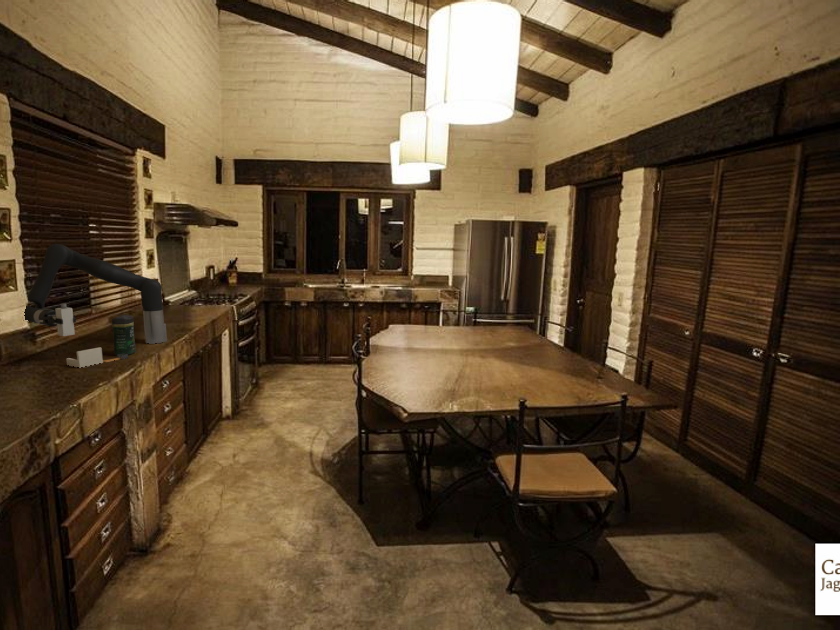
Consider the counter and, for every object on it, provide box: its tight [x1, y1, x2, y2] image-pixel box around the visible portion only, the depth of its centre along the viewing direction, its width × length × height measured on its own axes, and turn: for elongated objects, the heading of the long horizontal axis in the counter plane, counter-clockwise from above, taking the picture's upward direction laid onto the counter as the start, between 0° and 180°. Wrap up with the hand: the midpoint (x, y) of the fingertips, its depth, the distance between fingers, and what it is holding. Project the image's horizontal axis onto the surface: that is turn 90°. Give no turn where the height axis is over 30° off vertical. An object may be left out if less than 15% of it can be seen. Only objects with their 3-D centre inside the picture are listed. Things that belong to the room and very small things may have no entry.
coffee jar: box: [111, 314, 137, 356], centre depth 226 cm, size 10×8×19 cm
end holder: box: [65, 347, 104, 369], centre depth 208 cm, size 10×9×7 cm
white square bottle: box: [54, 303, 76, 337], centre depth 213 cm, size 4×4×14 cm
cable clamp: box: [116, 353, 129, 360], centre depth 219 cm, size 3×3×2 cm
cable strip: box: [103, 357, 122, 363], centre depth 215 cm, size 10×5×1 cm, turn 154°
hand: (68, 320), depth 211 cm, fingers closed on white square bottle, 4 cm apart
